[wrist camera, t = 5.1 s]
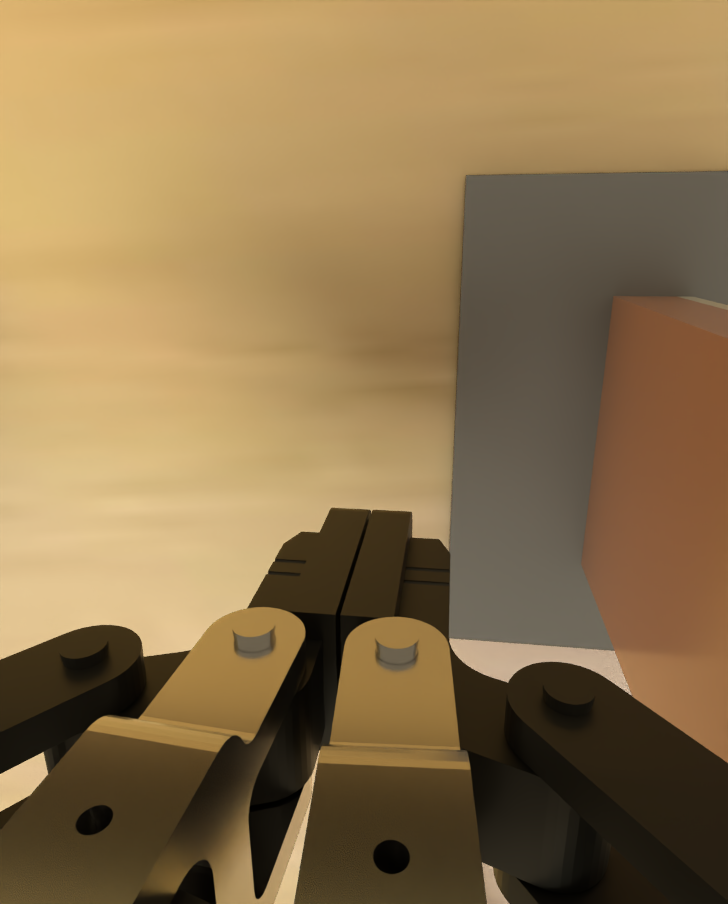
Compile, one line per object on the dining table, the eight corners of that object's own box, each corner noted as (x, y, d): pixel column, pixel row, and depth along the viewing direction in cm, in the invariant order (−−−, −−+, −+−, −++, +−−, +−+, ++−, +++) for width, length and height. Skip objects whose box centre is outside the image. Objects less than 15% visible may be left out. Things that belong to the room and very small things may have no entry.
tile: (693, 296, 16) (1009, 375, 7) (649, 568, 19) (839, 889, 10) (613, 295, 17) (817, 371, 7) (581, 564, 19) (701, 873, 10)
